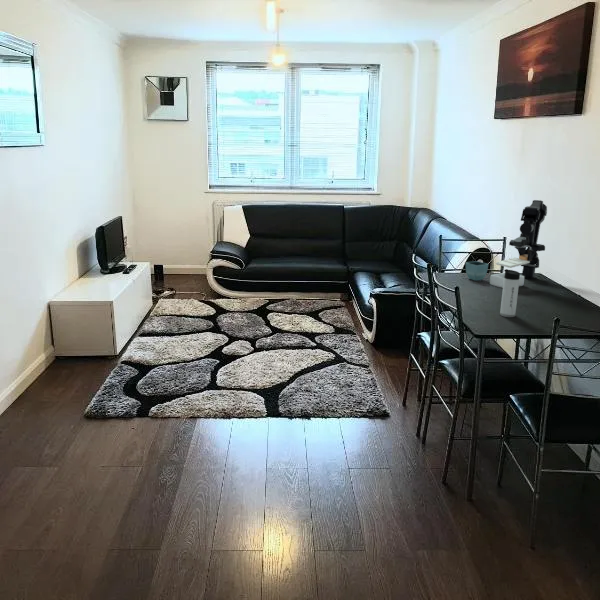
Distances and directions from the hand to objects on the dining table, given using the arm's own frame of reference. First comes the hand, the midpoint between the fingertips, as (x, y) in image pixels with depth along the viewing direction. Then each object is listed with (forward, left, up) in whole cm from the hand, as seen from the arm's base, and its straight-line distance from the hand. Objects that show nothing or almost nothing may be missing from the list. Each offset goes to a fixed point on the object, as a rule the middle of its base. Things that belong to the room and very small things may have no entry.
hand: (524, 261), depth 319 cm
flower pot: (+15, -19, -12) cm, 27 cm away
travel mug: (+52, +35, -12) cm, 64 cm away
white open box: (+9, -3, -12) cm, 15 cm away
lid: (+7, 0, 0) cm, 7 cm away
